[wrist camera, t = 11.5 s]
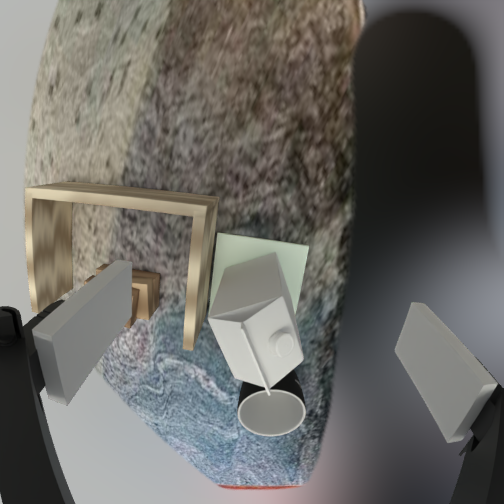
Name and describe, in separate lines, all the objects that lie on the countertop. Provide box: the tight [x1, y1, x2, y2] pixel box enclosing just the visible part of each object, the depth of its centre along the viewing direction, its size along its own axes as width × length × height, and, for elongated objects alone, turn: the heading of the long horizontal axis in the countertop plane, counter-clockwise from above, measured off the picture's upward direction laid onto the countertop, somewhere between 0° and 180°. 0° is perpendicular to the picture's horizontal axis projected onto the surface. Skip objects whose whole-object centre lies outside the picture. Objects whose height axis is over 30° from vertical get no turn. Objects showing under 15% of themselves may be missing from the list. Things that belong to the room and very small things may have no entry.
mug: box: [237, 369, 306, 436], centre depth 43 cm, size 12×9×10 cm
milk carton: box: [208, 252, 304, 396], centre depth 34 cm, size 7×7×19 cm
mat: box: [209, 232, 309, 314], centre depth 44 cm, size 12×12×1 cm
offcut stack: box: [84, 264, 160, 328], centre depth 41 cm, size 6×9×8 cm, turn 82°
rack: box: [25, 181, 219, 351], centre depth 38 cm, size 17×23×10 cm
